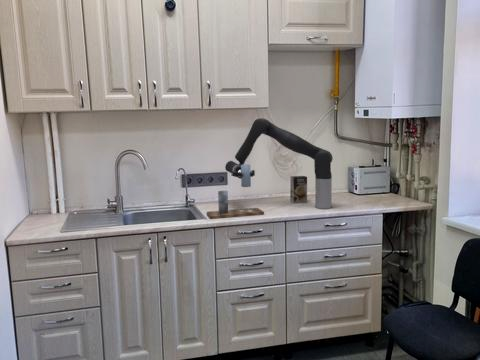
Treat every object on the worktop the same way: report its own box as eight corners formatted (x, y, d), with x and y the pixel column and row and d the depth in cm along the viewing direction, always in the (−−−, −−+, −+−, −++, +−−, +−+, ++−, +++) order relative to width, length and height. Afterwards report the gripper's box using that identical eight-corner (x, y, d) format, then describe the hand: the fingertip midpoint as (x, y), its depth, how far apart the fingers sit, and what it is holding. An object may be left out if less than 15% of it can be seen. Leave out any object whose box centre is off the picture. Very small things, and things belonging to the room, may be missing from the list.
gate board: (257, 210, 252) (257, 187, 250) (264, 214, 240) (263, 190, 238) (206, 214, 245) (205, 190, 243) (210, 219, 233) (209, 194, 231)
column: (244, 185, 246) (243, 164, 244) (252, 185, 243) (252, 164, 241) (239, 186, 241) (239, 165, 240) (247, 187, 239) (247, 165, 237)
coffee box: (294, 203, 269) (293, 177, 267) (290, 201, 276) (289, 176, 273) (307, 202, 272) (307, 176, 269) (303, 200, 278) (303, 175, 276)
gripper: (227, 165, 253) (234, 169, 236) (251, 164, 256) (259, 167, 240) (228, 178, 254) (234, 182, 238) (251, 177, 257) (259, 181, 241)
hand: (247, 175), depth 239 cm, fingers closed on column, 5 cm apart
